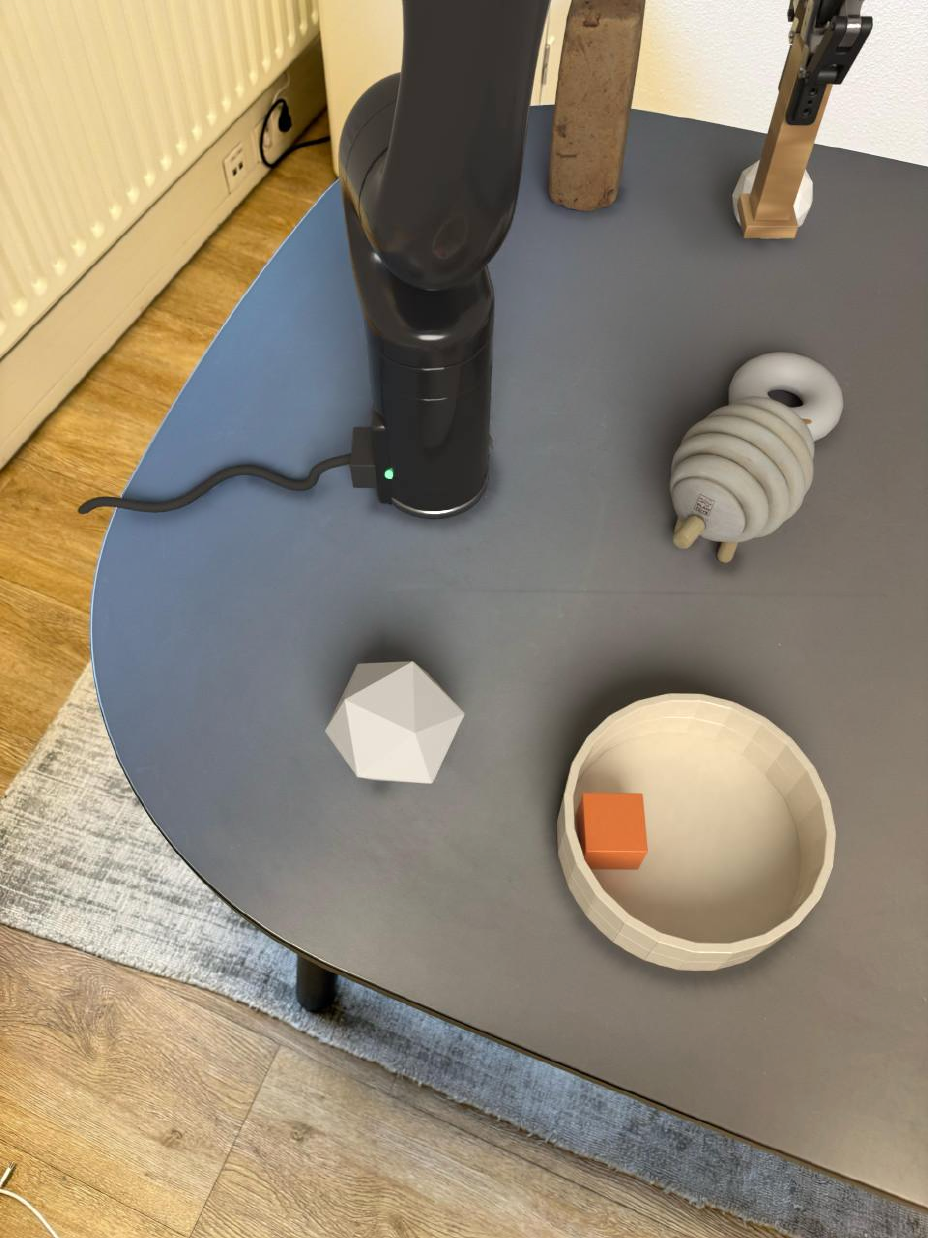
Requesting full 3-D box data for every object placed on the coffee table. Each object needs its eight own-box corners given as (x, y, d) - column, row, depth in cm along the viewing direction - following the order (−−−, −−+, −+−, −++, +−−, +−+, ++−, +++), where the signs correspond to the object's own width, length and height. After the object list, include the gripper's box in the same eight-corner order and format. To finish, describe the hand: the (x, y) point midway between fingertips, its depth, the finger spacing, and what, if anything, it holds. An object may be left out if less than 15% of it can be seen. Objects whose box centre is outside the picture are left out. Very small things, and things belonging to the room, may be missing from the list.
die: (424, 674, 75) (333, 625, 68) (506, 708, 68) (416, 658, 61) (375, 775, 74) (279, 737, 66) (454, 819, 67) (356, 782, 60)
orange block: (579, 869, 66) (585, 851, 62) (576, 812, 68) (582, 792, 64) (638, 870, 66) (648, 852, 62) (633, 813, 68) (642, 793, 64)
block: (612, 222, 101) (643, 22, 83) (541, 211, 101) (557, 11, 84) (626, 159, 106) (659, -41, 89) (559, 149, 107) (578, -51, 90)
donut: (847, 453, 85) (822, 369, 90) (861, 428, 82) (835, 341, 87) (734, 456, 85) (715, 371, 90) (744, 430, 82) (724, 344, 87)
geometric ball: (765, 241, 103) (822, 176, 99) (776, 266, 97) (838, 198, 93) (711, 197, 101) (767, 129, 97) (720, 220, 95) (780, 148, 91)
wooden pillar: (743, 238, 83) (793, 60, 70) (736, 205, 85) (784, 26, 72) (794, 238, 83) (854, 60, 70) (786, 205, 85) (843, 26, 72)
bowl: (561, 970, 63) (570, 951, 58) (552, 727, 72) (559, 691, 66) (826, 974, 63) (859, 955, 58) (785, 730, 72) (810, 694, 66)
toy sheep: (819, 482, 83) (865, 390, 74) (734, 623, 76) (773, 541, 67) (708, 430, 86) (739, 335, 77) (616, 561, 79) (638, 474, 70)
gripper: (798, -206, 64) (735, 57, 79) (836, -104, 57) (759, 164, 72) (912, -205, 64) (827, 58, 79) (964, -102, 57) (860, 165, 72)
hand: (795, 107), depth 75 cm, fingers closed on wooden pillar, 3 cm apart
